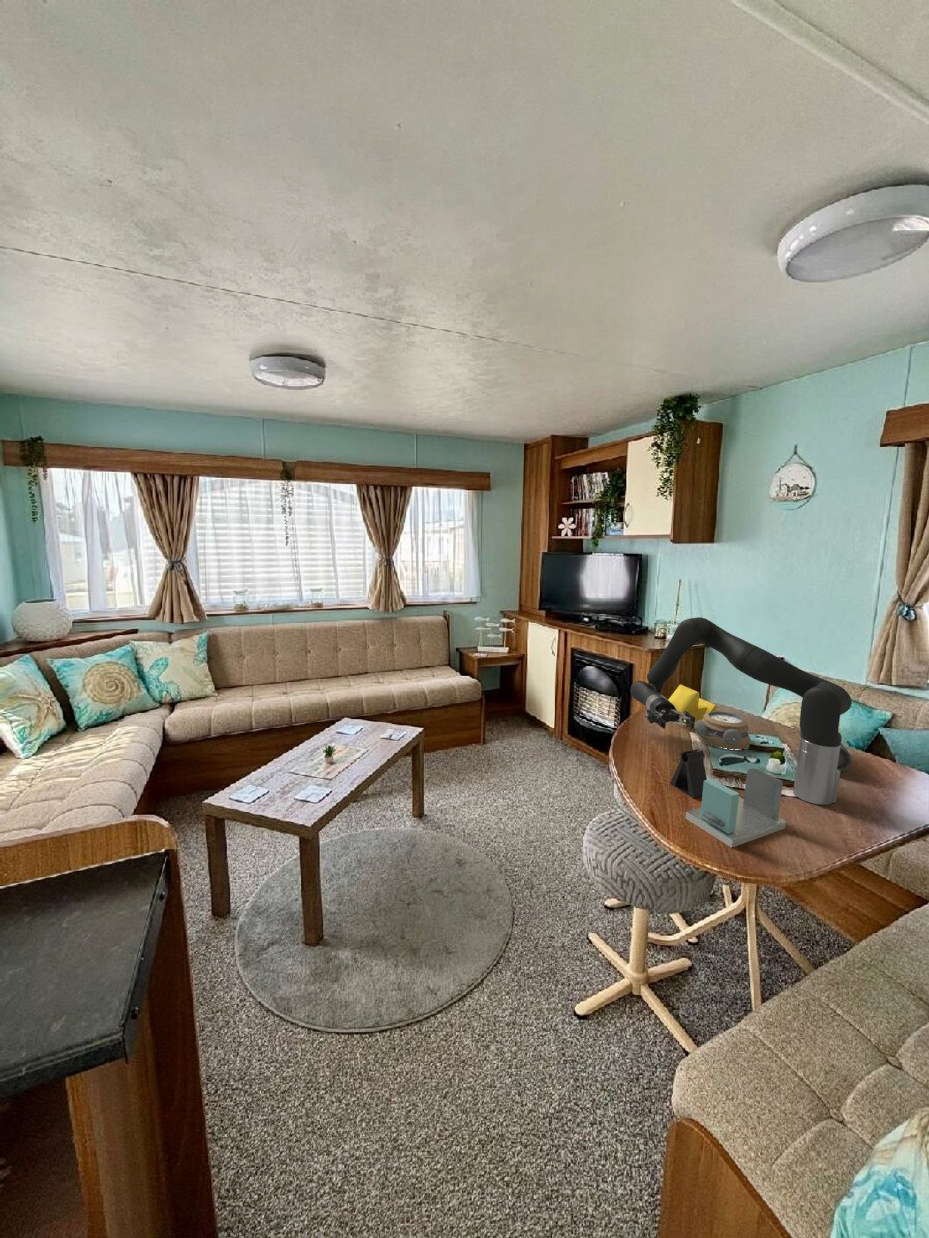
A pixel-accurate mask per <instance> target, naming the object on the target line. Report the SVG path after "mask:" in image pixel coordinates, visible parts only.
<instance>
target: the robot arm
mask: <svg viewBox="0 0 929 1238" xmlns="http://www.w3.org/2000/svg"><path fill="white" fill-rule="evenodd" d="M699 645H702V646H706V647H709V648H711V649H713V650H714V651H717V652H719V653H720V654H721V655H723V656H724V657H725V658H726V660H727V661H728V662H729V663H730V664H731V665H732V667H734V668H735V669H736V670H738V671H739V672H741V673H743V674H745V675H746V676H748V677H750V678H752V679H753V680H756V681H758V682H761V683H763V684H765V685H766V684H767V685H769V686H773V687H776V688H778V689H779V688H780V689H784V690H785V691H789V692H791V693H794V694H795V695H797V696H799V697H800V698H802V699H801V705H800V713H799V714H800V716H799V728H800V729H801V737H800V738H799V739H800V740H799V746H798V756H797V761H796V762H797V763H796V769H795V777H794V784H793V790H792V791H793V794H794V795H795V796H796V797H797V798H799V799H800V800H803V801H804V802H806V803H809V804H812V805H813V804H815V805H821V806H829V805H831V804H832V803H836V802H837V796H838V791H839V784H840V777H841V771H839V770H838V769H837V766H838V759H839V752H840V746H841V743H842V739H843V736H842V734H841V733H840V732H839V728H840V720H841V715H844V714H845V713H847V712H848V711H849V710H850V709H851V707H852V701H853V700H852V698H851V695H850V693H848V691H847V690H846V689H845V688H844V687H842V686H840V685H839V684H836V683H835V682H831V681H830V680H829V681H828V680H827V679H824V678H822V677H819V676H816V675H814V674H811V673H809V672H806V671H804V670H802V669H800V668H799V667H797V666H795V665H793V664H791V663H790V662H788V661H786V660H784V659H782V658H780V657H778V656H776V655H775V654H773V653H772V652H770V651H768V650H765V649H764V648H761V647H760V646H757V645H755V644H753V643H750V642H748V641H746V640H745V639H742V638H740V637H738V636H736V635H734V634H732V633H730V632H728V631H727V630H725V629H723V628H722V627H720V626H719V625H718V624H715V623H714V622H713V621H711V620H709V619H707V618H704V617H702V616H700V617H699V616H698V617H691V618H686V619H684V620H682V621H681V622H680V623H679V624H678V626H677V627H676V629H675V631H674V633H673V635H672V637H671V638H670V640H669V642H668V644H667V646H666V648H665V649H664V650H663V652H662V654H661V655H660V657H659V658H658V659H657V661H656V662H655V663H654V665H652V667H651V668H650V670H649V671H648V673H647V675H646V679H647V681H648V682H649V683H648V682H646V681H643V680H636V681H634V682H633V683H632V684H631V685H630V689H629V690H630V694H631V697H632V698H633V699H634V700H636V701H637V702H639V703H641V704H642V705H644V706H645V708H646V710H645V718H646V719H647V721H648V722H649V724H654V723H655V725H658V726H659V727H660V728H661V729H666V724H667V723H669V722H670V723H675V724H677V725H684V726H686V727H687V728H688V729H689V730H691V731H693V730H694V725H695V717H694V716H693V715H692V714H690V713H689V712H687V711H685V712H684V714H683V713H680V712H678V711H676V708H675V706H674V705H673V704H672V703H671V702H670V701H669V700H668V699H669V698H667V697H666V696H664V695H662V691H663V689H664V687H665V685H666V683H668V681H669V680H670V678H672V676H673V675H674V673H675V672H676V670H677V668H678V666H679V662H680V661H681V659H682V657H683V655H684V654H686V652H688V651H689V650H690V649H691V648H692V647H694V646H699ZM679 719H680V720H679ZM684 720H686V722H684ZM800 729H799V730H800Z"/></svg>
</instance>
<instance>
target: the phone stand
mask: <svg viewBox="0 0 929 1238" xmlns="http://www.w3.org/2000/svg"><path fill="white" fill-rule="evenodd" d="M704 761H705V753H704V751H703V749H702V750H700V748H699V749H698V748H697V749H692V750H688V751H682V752H681V754H680V761H679V763H678V766H677V767H676V770H675V772H674V774H673V775H672V778H671V781H669V782H670V783H669V784H670V785H671V786H672V787H674V788H676V789H677V790H678V791H681V792H682V793H684V794H685V795H687V796H688V797H690V798H692V799H697V798H702V794H703V784H704V781H705V780H708V778H707V772H706V767H705V762H704Z"/></svg>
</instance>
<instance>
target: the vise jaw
mask: <svg viewBox="0 0 929 1238" xmlns="http://www.w3.org/2000/svg"><path fill="white" fill-rule="evenodd" d="M739 797H740V793H739V792H737V791H735V790H733V789H731V788H729V787H728V786H725V785H724V784H722V783H720V782H718V781H716V780H714V779H712V778H707V780H705V781H704V784H703V794H702V796H701V806H700V807H701V814H700V817H701V818H703V819H705V820H706V821H708V822H709V823H711V824H713V825H714V826H716V827H718V828H719V829H721V830H722V831H724V832H726V833H727V834H729V833H732V832H735V827H736V818H737V810H738V801H739Z"/></svg>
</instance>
